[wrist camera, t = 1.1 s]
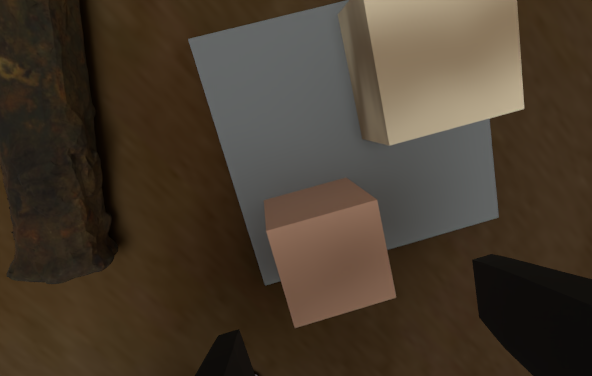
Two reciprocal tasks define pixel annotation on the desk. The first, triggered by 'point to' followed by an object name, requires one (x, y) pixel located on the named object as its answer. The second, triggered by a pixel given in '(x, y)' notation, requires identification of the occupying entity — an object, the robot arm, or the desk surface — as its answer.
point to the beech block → (430, 64)
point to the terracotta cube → (329, 250)
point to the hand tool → (50, 144)
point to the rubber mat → (330, 134)
